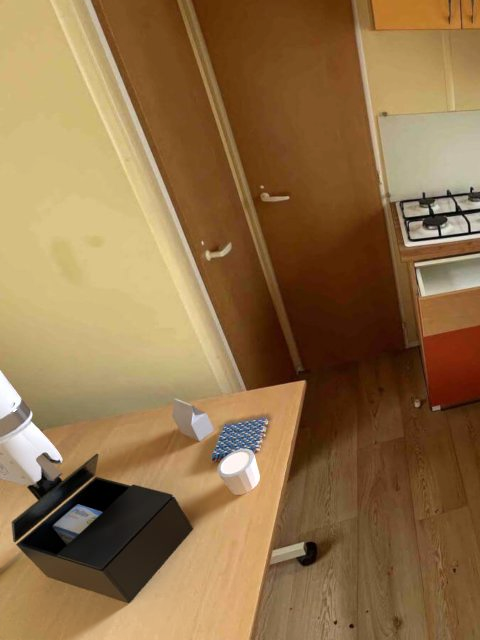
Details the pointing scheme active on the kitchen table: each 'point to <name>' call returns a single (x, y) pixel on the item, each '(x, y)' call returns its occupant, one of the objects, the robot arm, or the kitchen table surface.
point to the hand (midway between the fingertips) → (52, 493)
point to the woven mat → (240, 438)
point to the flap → (53, 499)
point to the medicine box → (75, 522)
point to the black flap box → (111, 539)
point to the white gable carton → (191, 420)
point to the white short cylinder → (239, 471)
